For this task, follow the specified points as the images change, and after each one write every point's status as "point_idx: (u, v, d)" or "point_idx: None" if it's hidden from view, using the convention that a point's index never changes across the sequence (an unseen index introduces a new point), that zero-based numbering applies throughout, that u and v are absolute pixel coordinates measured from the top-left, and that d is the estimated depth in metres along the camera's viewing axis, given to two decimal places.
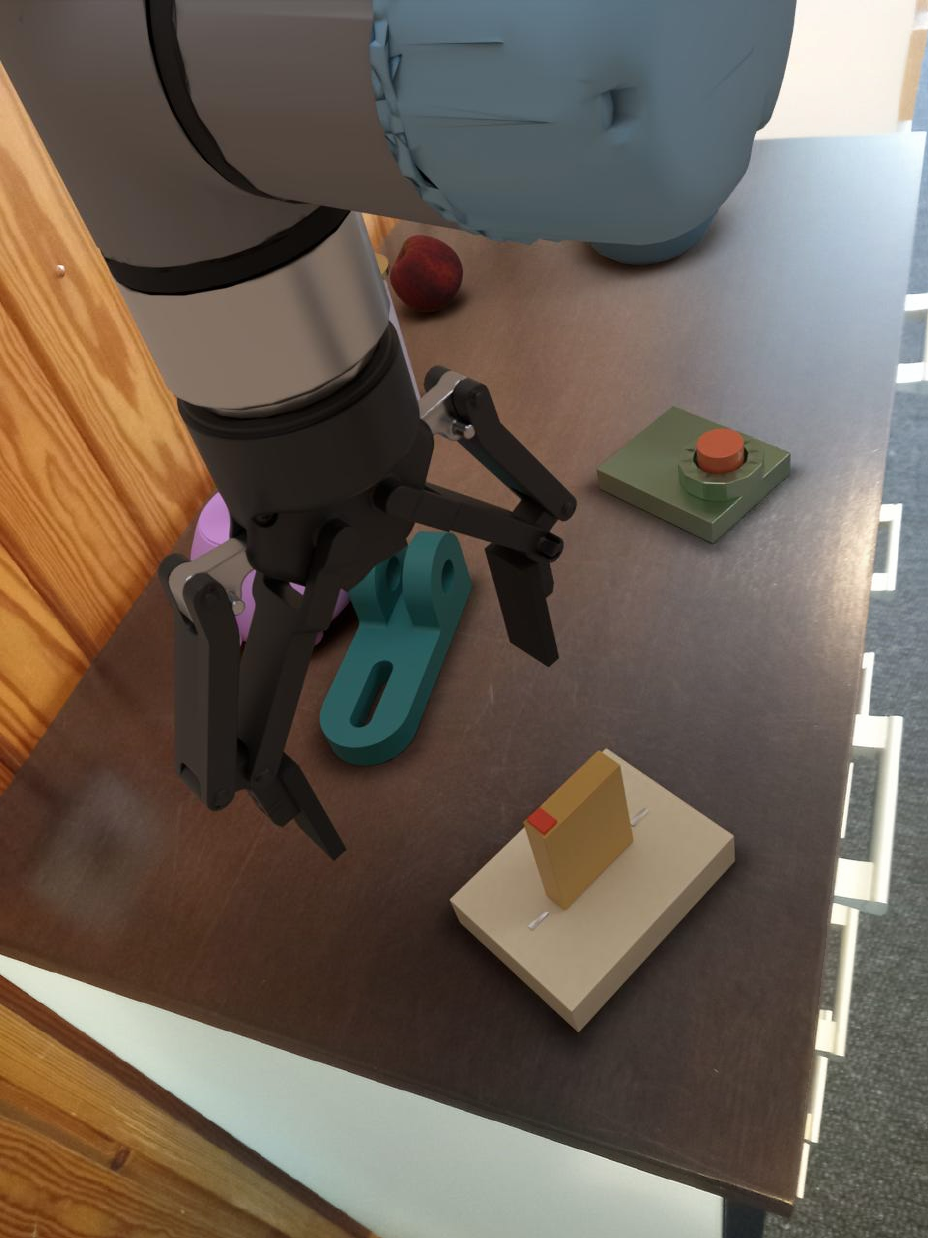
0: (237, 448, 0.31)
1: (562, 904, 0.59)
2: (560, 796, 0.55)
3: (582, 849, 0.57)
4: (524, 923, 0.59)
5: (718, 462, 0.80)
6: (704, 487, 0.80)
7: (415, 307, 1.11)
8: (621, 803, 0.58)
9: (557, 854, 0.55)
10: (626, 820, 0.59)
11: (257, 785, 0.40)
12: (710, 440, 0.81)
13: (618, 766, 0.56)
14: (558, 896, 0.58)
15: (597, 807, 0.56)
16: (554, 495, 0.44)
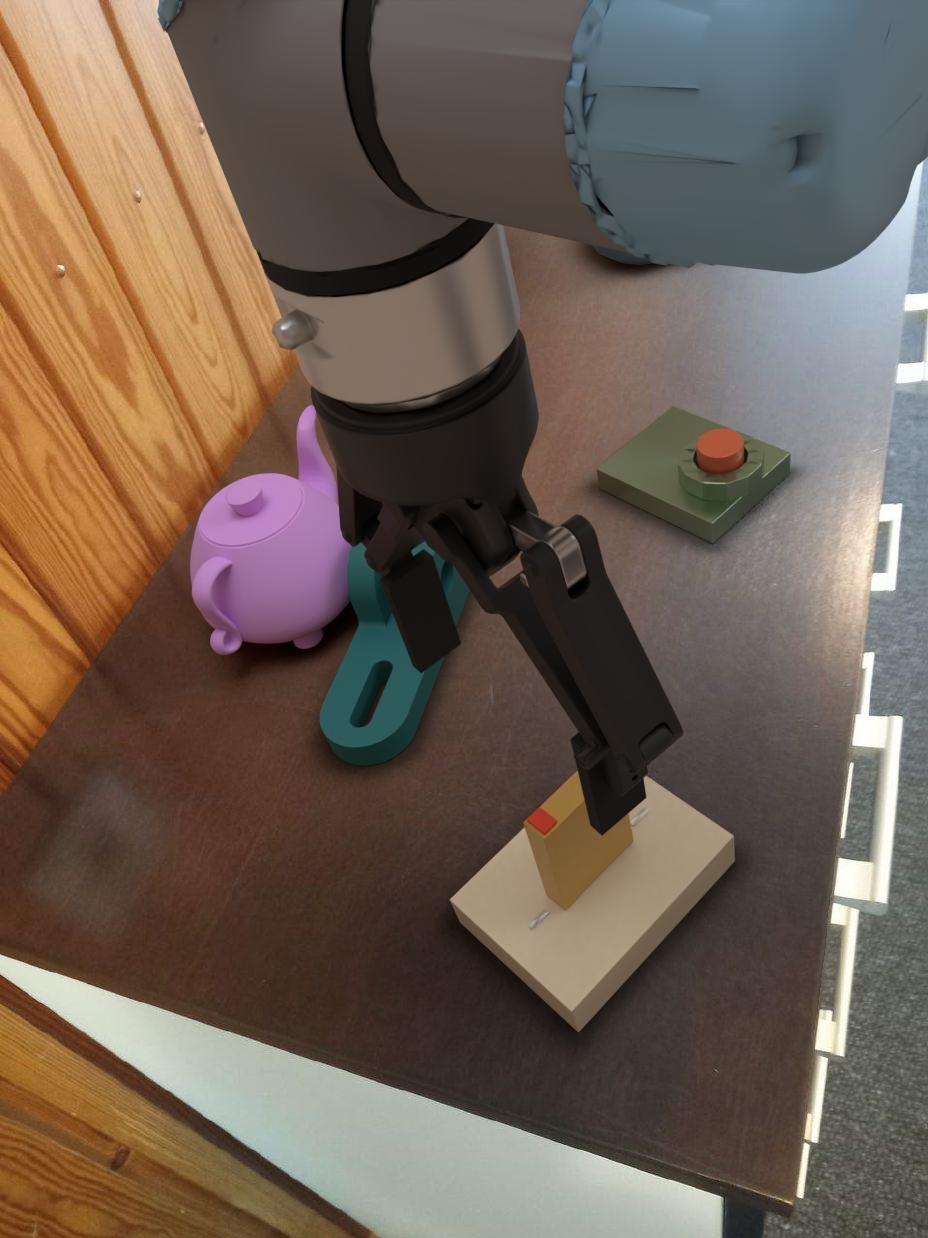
0: (518, 382, 0.34)
1: (562, 904, 0.59)
2: (560, 796, 0.55)
3: (582, 849, 0.57)
4: (524, 923, 0.59)
5: (718, 462, 0.80)
6: (704, 487, 0.80)
7: None
8: None
9: (557, 854, 0.55)
10: (626, 820, 0.59)
11: None
12: (710, 440, 0.81)
13: None
14: (558, 896, 0.58)
15: None
16: None
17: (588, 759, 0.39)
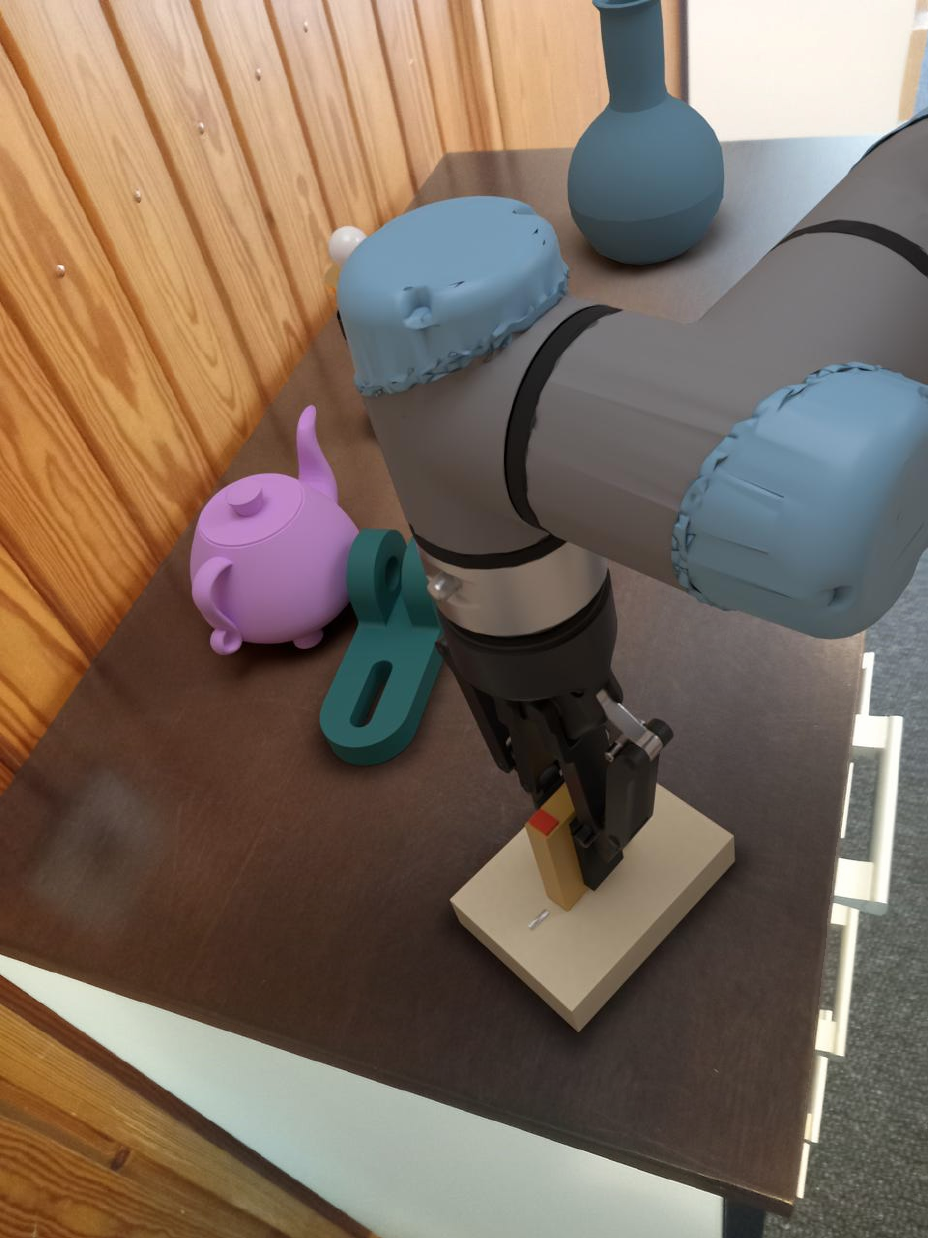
0: (609, 600, 0.43)
1: (564, 905, 0.59)
2: (560, 796, 0.55)
3: None
4: (524, 923, 0.59)
5: None
6: None
7: None
8: None
9: (559, 855, 0.55)
10: None
11: None
12: None
13: None
14: (560, 897, 0.58)
15: None
16: None
17: (588, 845, 0.53)
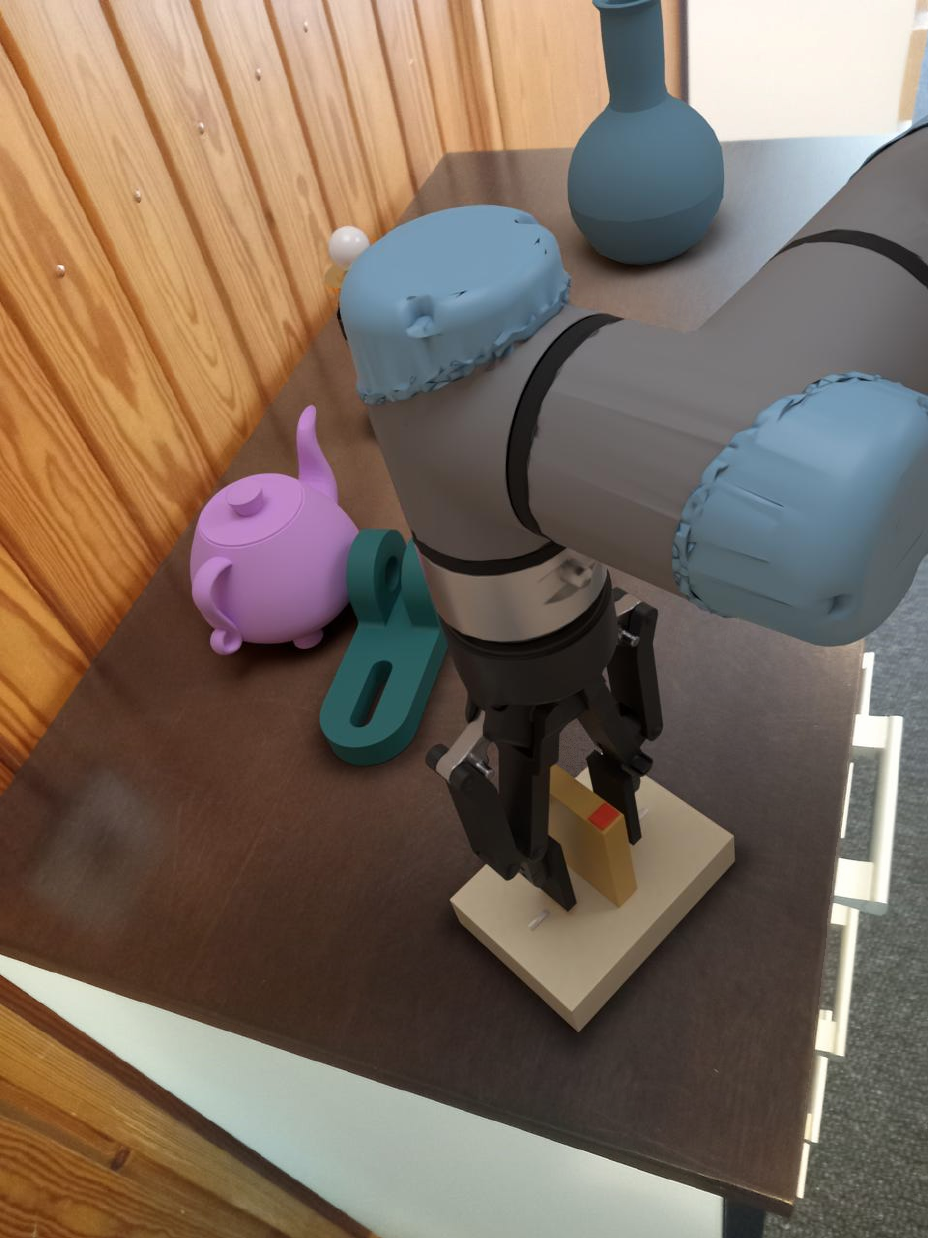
0: None
1: (635, 883, 0.59)
2: (574, 803, 0.55)
3: None
4: (524, 923, 0.59)
5: None
6: None
7: None
8: None
9: None
10: None
11: None
12: None
13: None
14: (632, 878, 0.58)
15: None
16: None
17: (652, 759, 0.55)
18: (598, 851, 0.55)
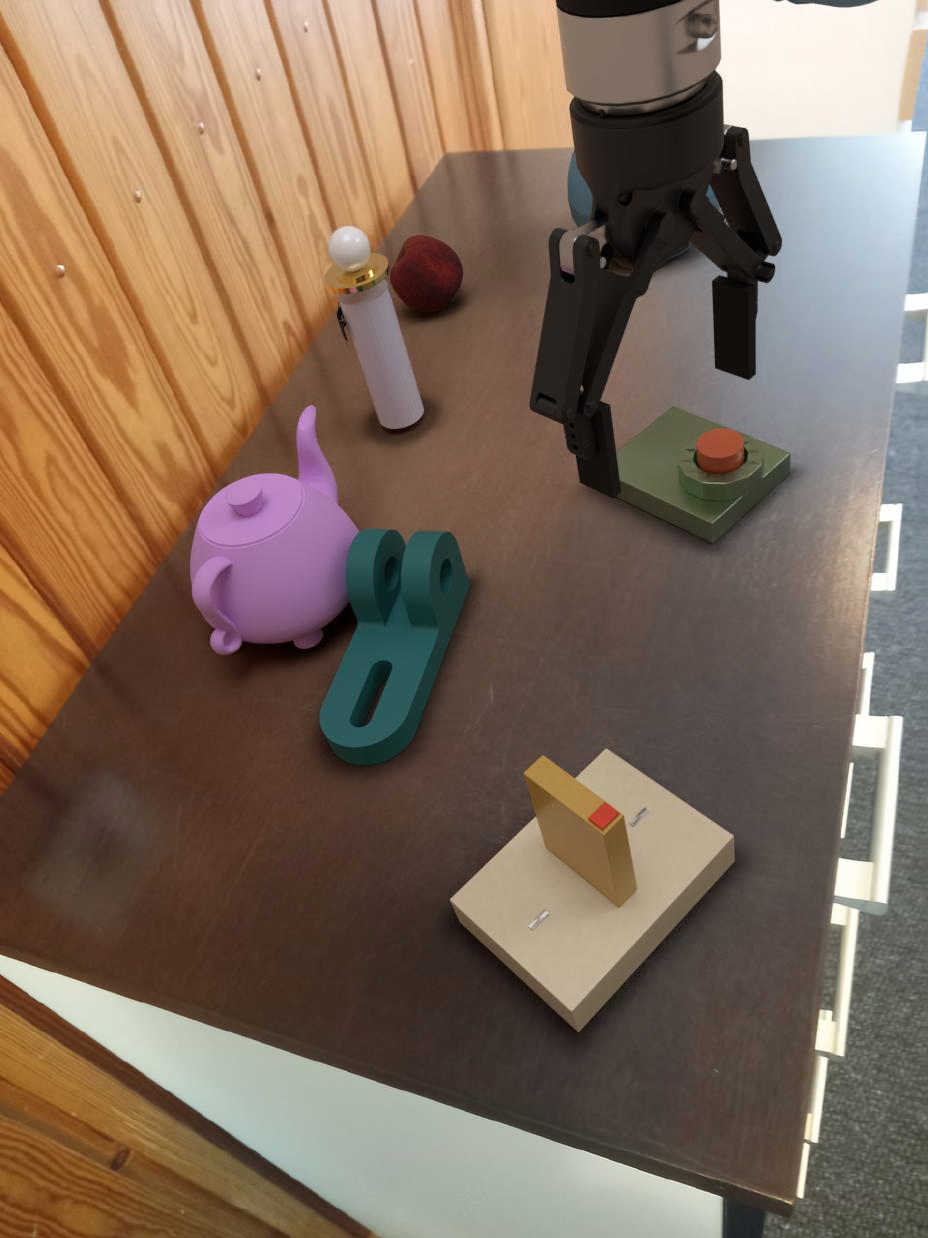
0: None
1: (635, 883, 0.59)
2: (574, 803, 0.55)
3: None
4: (524, 923, 0.59)
5: (718, 462, 0.80)
6: (704, 487, 0.80)
7: (415, 307, 1.11)
8: None
9: None
10: None
11: None
12: (710, 440, 0.81)
13: None
14: (632, 878, 0.58)
15: None
16: None
17: (773, 264, 0.62)
18: (598, 851, 0.55)
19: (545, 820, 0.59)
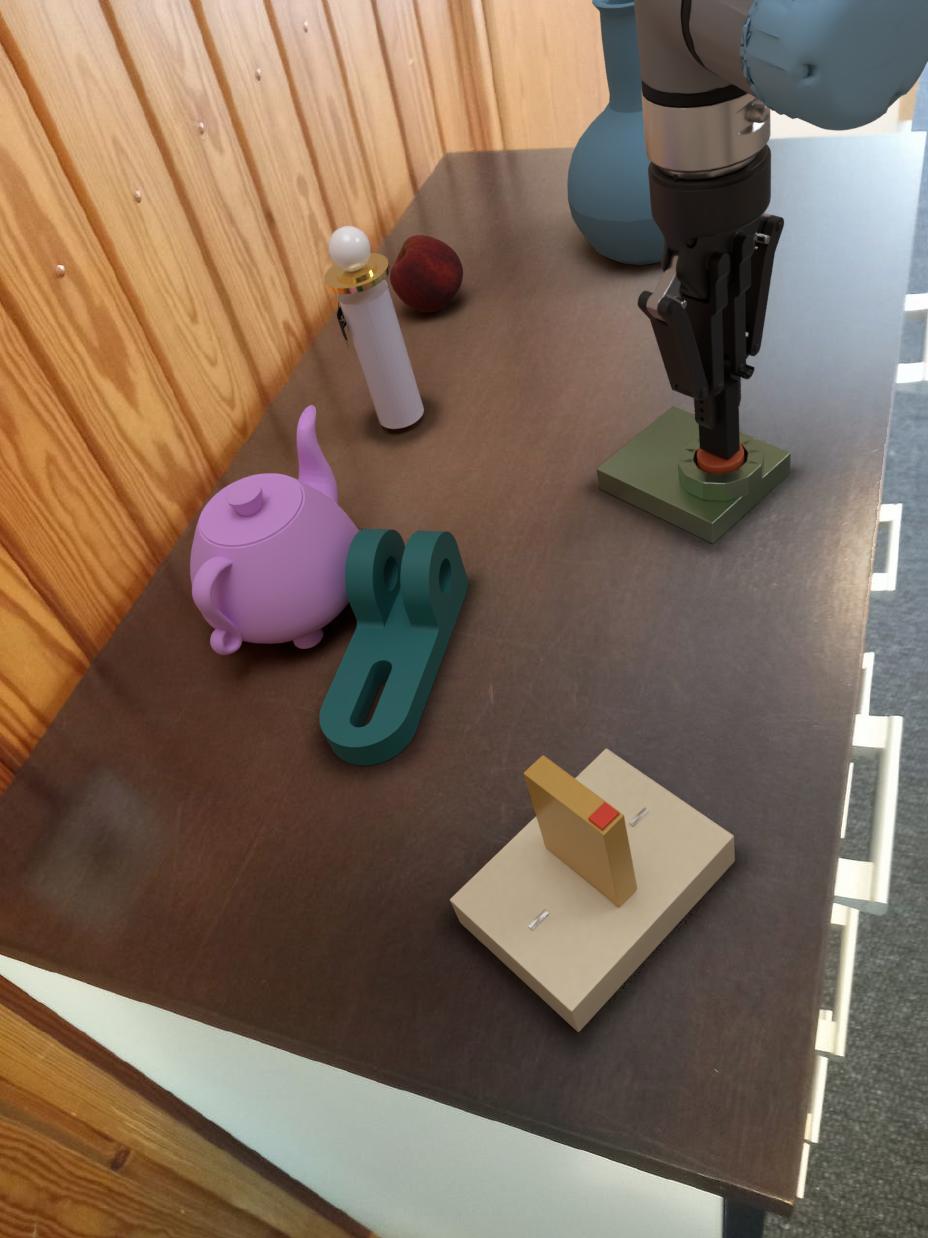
0: None
1: (635, 883, 0.59)
2: (574, 803, 0.55)
3: None
4: (524, 923, 0.59)
5: (718, 471, 0.80)
6: (704, 487, 0.80)
7: (415, 307, 1.11)
8: None
9: None
10: None
11: None
12: None
13: None
14: (632, 878, 0.58)
15: None
16: None
17: (754, 367, 0.75)
18: (598, 851, 0.55)
19: (545, 820, 0.59)
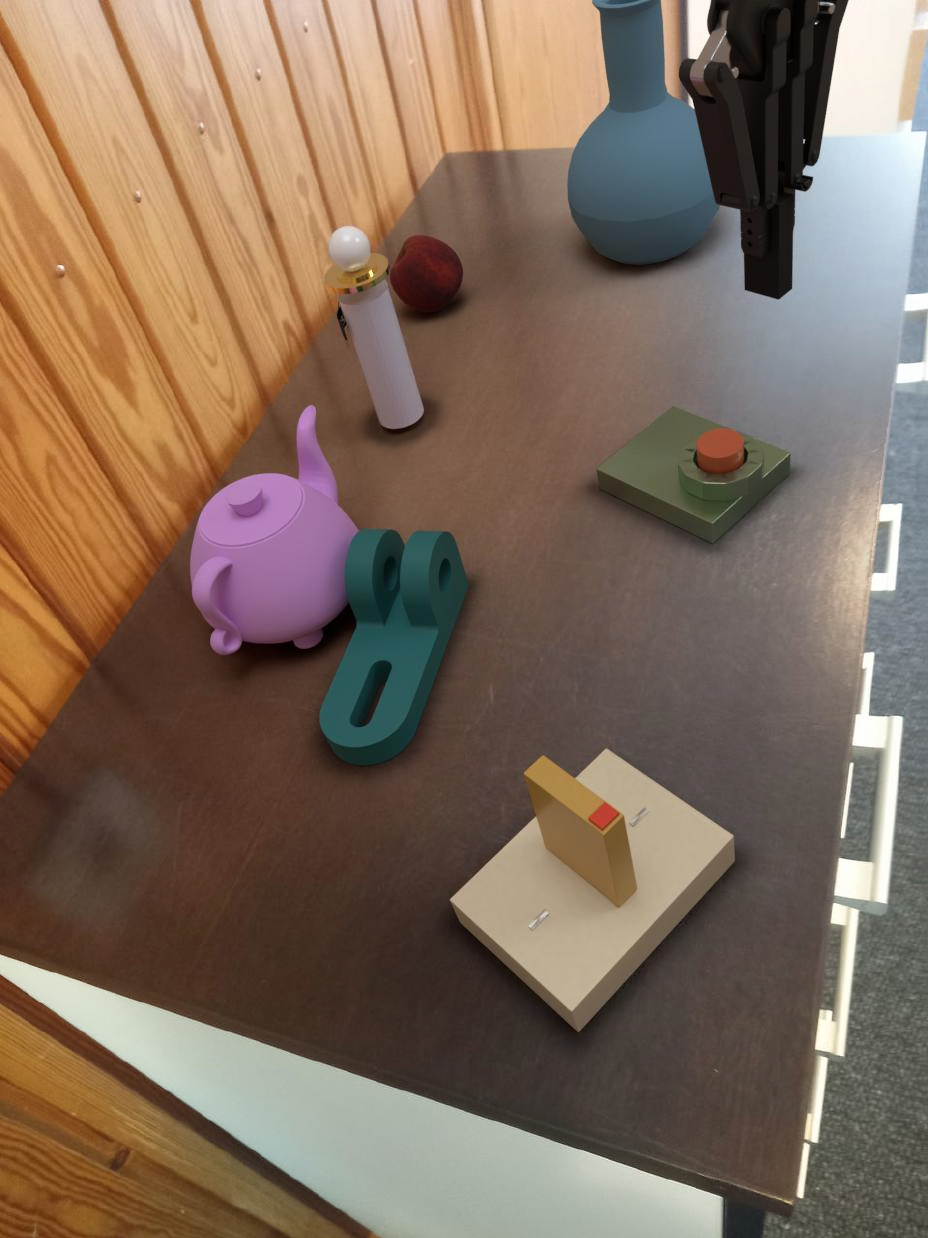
0: None
1: (635, 883, 0.59)
2: (574, 803, 0.55)
3: None
4: (524, 923, 0.59)
5: (718, 462, 0.80)
6: (704, 487, 0.80)
7: (415, 307, 1.11)
8: None
9: None
10: None
11: None
12: (710, 440, 0.81)
13: None
14: (632, 878, 0.58)
15: None
16: None
17: (812, 178, 0.64)
18: (598, 851, 0.55)
19: (545, 820, 0.59)
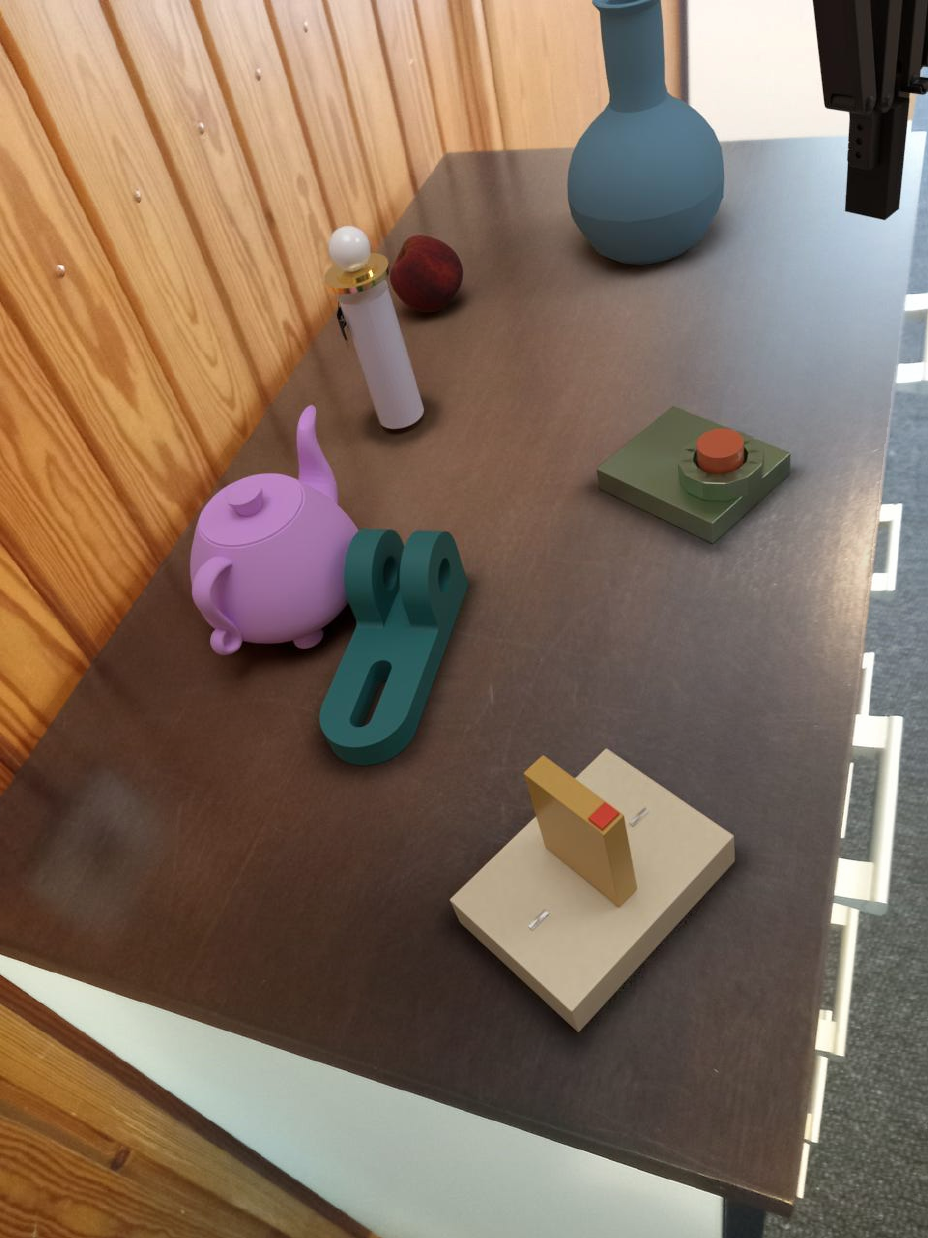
0: None
1: (635, 883, 0.59)
2: (574, 803, 0.55)
3: None
4: (524, 923, 0.59)
5: (718, 462, 0.80)
6: (704, 487, 0.80)
7: (415, 307, 1.11)
8: None
9: None
10: None
11: None
12: (710, 440, 0.81)
13: None
14: (632, 878, 0.58)
15: None
16: None
17: None
18: (598, 851, 0.55)
19: (545, 820, 0.59)
